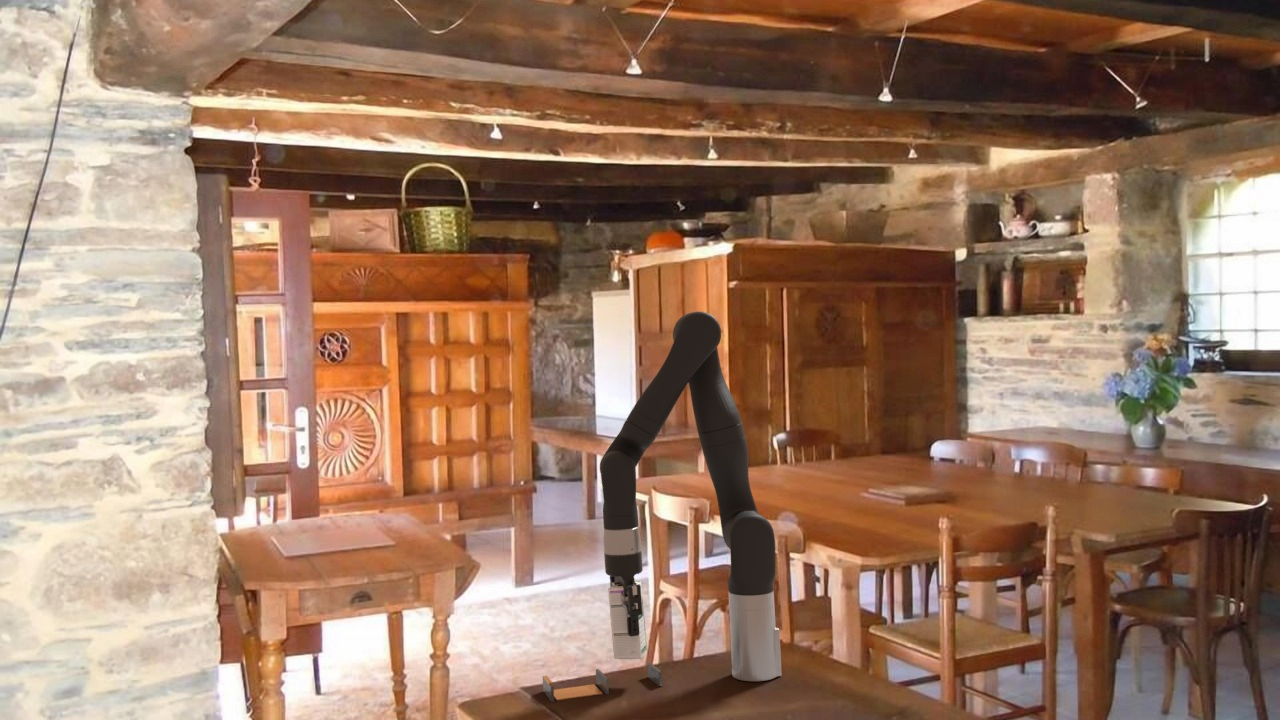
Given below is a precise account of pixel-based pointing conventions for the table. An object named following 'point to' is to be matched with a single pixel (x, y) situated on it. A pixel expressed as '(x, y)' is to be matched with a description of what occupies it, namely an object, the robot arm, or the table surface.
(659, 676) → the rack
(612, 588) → the syrup box
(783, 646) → the table surface
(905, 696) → the table surface
